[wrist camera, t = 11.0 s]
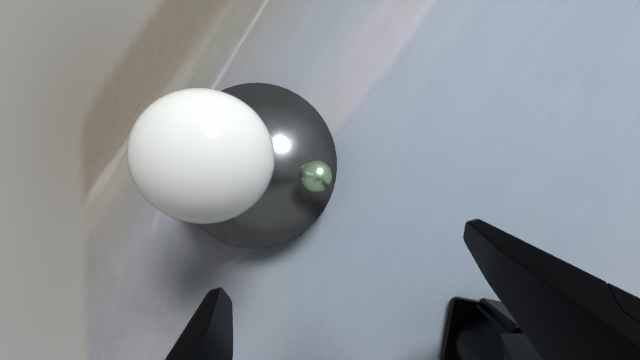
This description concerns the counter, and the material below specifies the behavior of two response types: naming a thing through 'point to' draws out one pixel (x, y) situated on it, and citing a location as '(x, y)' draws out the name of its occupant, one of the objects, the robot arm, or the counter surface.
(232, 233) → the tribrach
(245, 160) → the lightbulb
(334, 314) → the counter surface
